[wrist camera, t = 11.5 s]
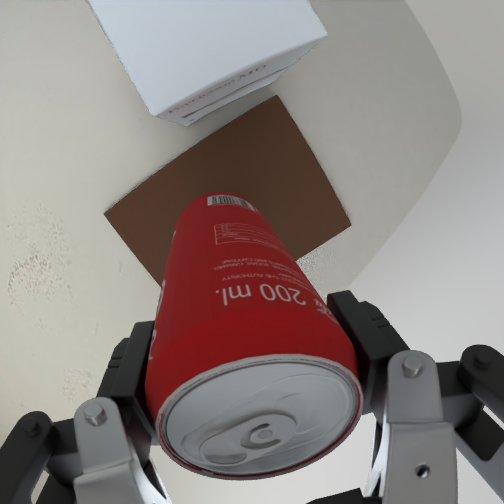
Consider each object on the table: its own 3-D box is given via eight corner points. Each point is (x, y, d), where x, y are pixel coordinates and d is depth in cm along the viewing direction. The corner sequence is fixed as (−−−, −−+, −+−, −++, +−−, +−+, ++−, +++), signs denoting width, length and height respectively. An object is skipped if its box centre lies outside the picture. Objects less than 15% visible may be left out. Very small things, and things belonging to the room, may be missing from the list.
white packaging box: (185, 129, 21) (145, 124, 10) (141, 50, 19) (72, -17, 7) (275, 85, 21) (335, 38, 9) (230, 7, 18) (242, -92, 6)
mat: (276, 94, 21) (276, 94, 21) (350, 224, 25) (351, 225, 25) (104, 213, 23) (103, 214, 23) (192, 322, 27) (192, 323, 27)
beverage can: (164, 204, 19) (54, 373, 5) (266, 176, 19) (382, 301, 5) (192, 286, 21) (168, 498, 7) (285, 262, 21) (373, 458, 7)
